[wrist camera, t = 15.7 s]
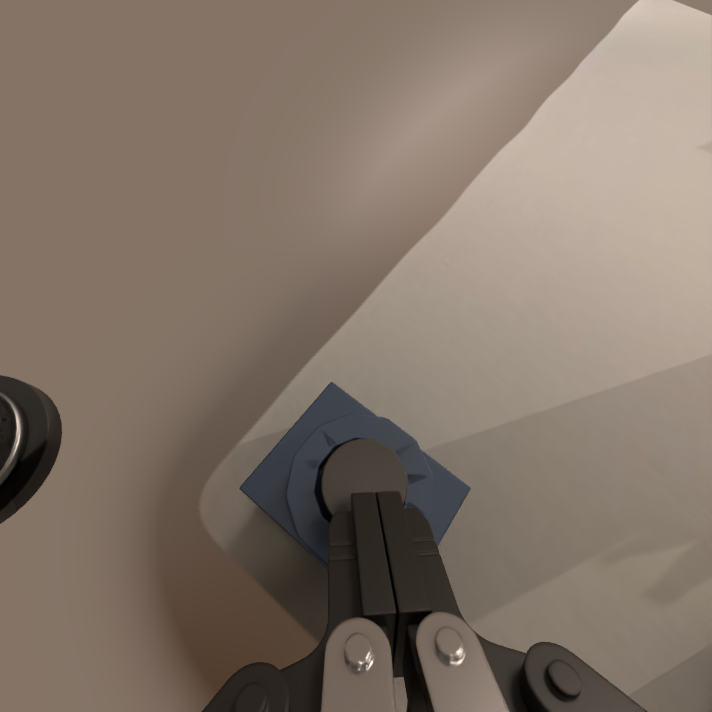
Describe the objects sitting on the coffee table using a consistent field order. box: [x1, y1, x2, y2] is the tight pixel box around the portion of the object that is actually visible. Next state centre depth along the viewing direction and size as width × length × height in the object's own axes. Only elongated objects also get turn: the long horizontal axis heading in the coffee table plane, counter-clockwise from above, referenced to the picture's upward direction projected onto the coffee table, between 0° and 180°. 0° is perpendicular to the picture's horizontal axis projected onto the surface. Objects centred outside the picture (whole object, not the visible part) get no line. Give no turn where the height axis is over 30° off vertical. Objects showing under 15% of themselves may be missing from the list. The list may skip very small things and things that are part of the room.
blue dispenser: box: [240, 382, 470, 569], centre depth 19 cm, size 9×7×9 cm
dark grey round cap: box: [321, 439, 407, 516], centre depth 14 cm, size 3×3×2 cm
